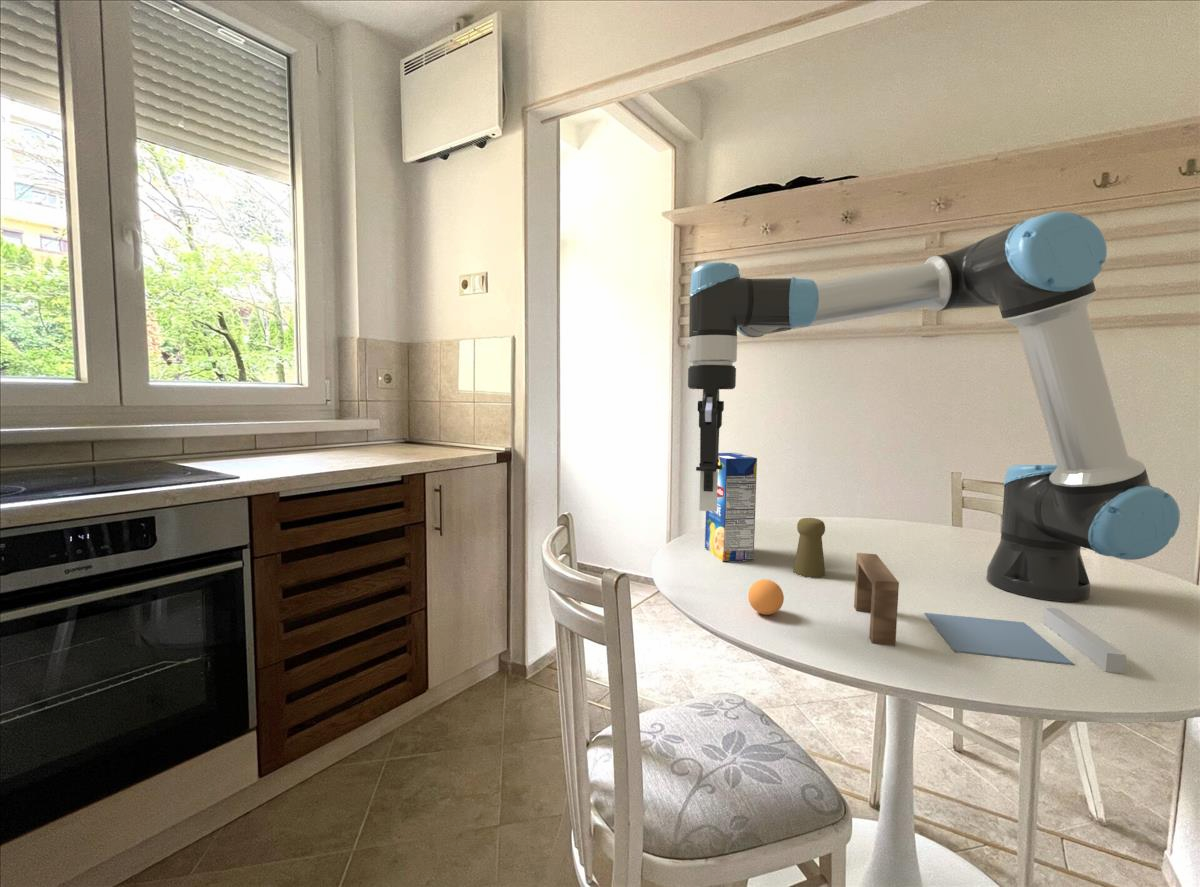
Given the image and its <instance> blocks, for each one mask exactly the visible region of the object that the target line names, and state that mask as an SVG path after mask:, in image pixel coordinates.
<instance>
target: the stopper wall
mask: <svg viewBox="0 0 1200 887" xmlns="http://www.w3.org/2000/svg"><path fill="white" fill-rule="evenodd" d="M1042 619H1043V620H1042V623H1043V624H1044V625H1045V626H1046V625H1047V626H1048V627H1047V626H1046V627H1047V628H1049V629H1050V628H1051V629H1052V630H1051V629H1050V630H1051V631H1052V632H1054V633H1055V632H1056V633H1057V634H1056V633H1055V634H1056V635H1058V634H1059V635H1060V636H1061V637H1060V636H1059V635H1058V636H1059V637H1060V638H1061V639H1063V638H1064V639H1065V640H1066V641H1065V640H1064V639H1063V640H1064V641H1065V642H1067V643H1068V642H1069V643H1070V644H1069V643H1068V644H1069V645H1071V646H1072V647H1073V646H1074V647H1075V648H1074V647H1073V648H1074V649H1076V650H1077V649H1078V650H1079V651H1078V650H1077V651H1078V652H1079V653H1081V654H1082V653H1083V654H1084V655H1083V654H1082V655H1083V656H1084V657H1086V656H1087V657H1088V658H1087V657H1086V658H1087V659H1089V660H1090V659H1091V660H1092V661H1093V662H1092V661H1091V660H1090V661H1091V662H1092V663H1094V662H1095V663H1096V664H1097V665H1096V664H1095V663H1094V664H1095V665H1096V666H1097V667H1099V666H1100V667H1101V668H1102V669H1101V668H1100V667H1099V668H1100V669H1101V670H1103V671H1104V672H1107V673H1114V674H1122V673H1123V674H1125V669H1126V668H1125V667H1126V656H1127V654H1125V653H1124V652H1122V651H1121V650H1120V649H1118V648H1116V647H1115V646H1114V645H1112V644H1111V643H1109V642H1108V641H1106V640H1105V639H1103V638H1102V637H1101V636H1099V635H1098V634H1096V633H1094V632H1093V631H1091V629H1089V628H1087V627H1086V626H1085V625H1083V624H1082V623H1081V622H1079V621H1077V620H1076V619H1074V617H1072V616H1070V615H1069V614H1068V613H1066V612H1065V611H1063V610H1062V609H1061V608H1051V607H1044V609H1043V618H1042Z"/></svg>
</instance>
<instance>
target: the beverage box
mask: <svg viewBox="0 0 1200 887" xmlns="http://www.w3.org/2000/svg"><path fill="white" fill-rule="evenodd" d="M718 459H719V462H718V465H722V470H720V469H717V470H718V488H717V511H716V512H715V511H705V523H704V524H705V527H704V529H705V531H704V532H705V534H704V549H705V548H706V549H705V550H707V551H708V552H709V551H710V552H711V554H712V555H713V554H714V555H715V556H714V555H713V556H714V557H716V556H717V557H718V558H719V559H718V558H717V557H716V558H717V559H718V560H720V559H721V560H722V561H737V562H744V561H743V560H754V559H755V558H754V556H755V530H756V529H755V528H756V501H757V500H756V498H757V469H758V468H757V467H758V463H757V462H758V458H757V457H754V456H750V455H746V454H743V453H738V452H718ZM710 552H709V553H710ZM721 560H720V561H721ZM722 561H721V562H722Z"/></svg>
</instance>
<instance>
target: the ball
mask: <svg viewBox="0 0 1200 887" xmlns="http://www.w3.org/2000/svg"><path fill="white" fill-rule="evenodd" d="M747 597H748V601H749V602H748V603H749V604H750V607H752V609H753V610H754V611H756V612H757V613H759V614H761V615H767V616H768V615H773V614H776V613H777V612H779V611H780V609H781V608H782V607H783V604H784V599H785V598H784V597H785V596H784V592H783V590H782V588H781V587H780V585H779V584H778V583H776V582H775V581H773V580H771V579H767V578H766V579H765V578H764V579H758V580H756V581H754V583H753V584H751V585H750V587H749V589H748V595H747Z"/></svg>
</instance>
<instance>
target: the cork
mask: <svg viewBox="0 0 1200 887" xmlns="http://www.w3.org/2000/svg"><path fill="white" fill-rule="evenodd" d="M796 530H797V532H798V534H799V536H798V537H799V538H798V543H797V548H796V554H795V561H794V565H793V570H792V573H796V574H798V575H797V576H799V575H801V576H800V577H802V576H804V577H803V578H807V577H811V578H810V579H821V577H822V578H825V577H826V570H825V569H826V567H825V560H824V559H825V558H824V547H823V538H822V537H823V536H824V535H825V532H826V525H825V523H824V521H823V520H822V519H819V518H815V517H814V518H813V517H803V518H800V519H799V520H798V522H797V526H796ZM796 574H795V575H796Z"/></svg>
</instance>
